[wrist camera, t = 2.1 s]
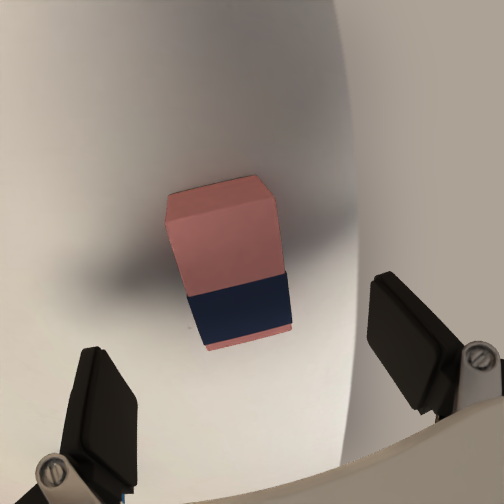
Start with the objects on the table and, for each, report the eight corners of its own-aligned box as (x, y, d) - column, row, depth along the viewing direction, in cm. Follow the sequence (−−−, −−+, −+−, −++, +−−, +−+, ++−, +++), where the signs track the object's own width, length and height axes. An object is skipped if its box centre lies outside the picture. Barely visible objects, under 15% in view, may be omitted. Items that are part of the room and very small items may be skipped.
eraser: (166, 194, 14) (162, 223, 11) (257, 173, 14) (277, 196, 11) (201, 309, 17) (206, 352, 14) (275, 291, 17) (293, 330, 15)
